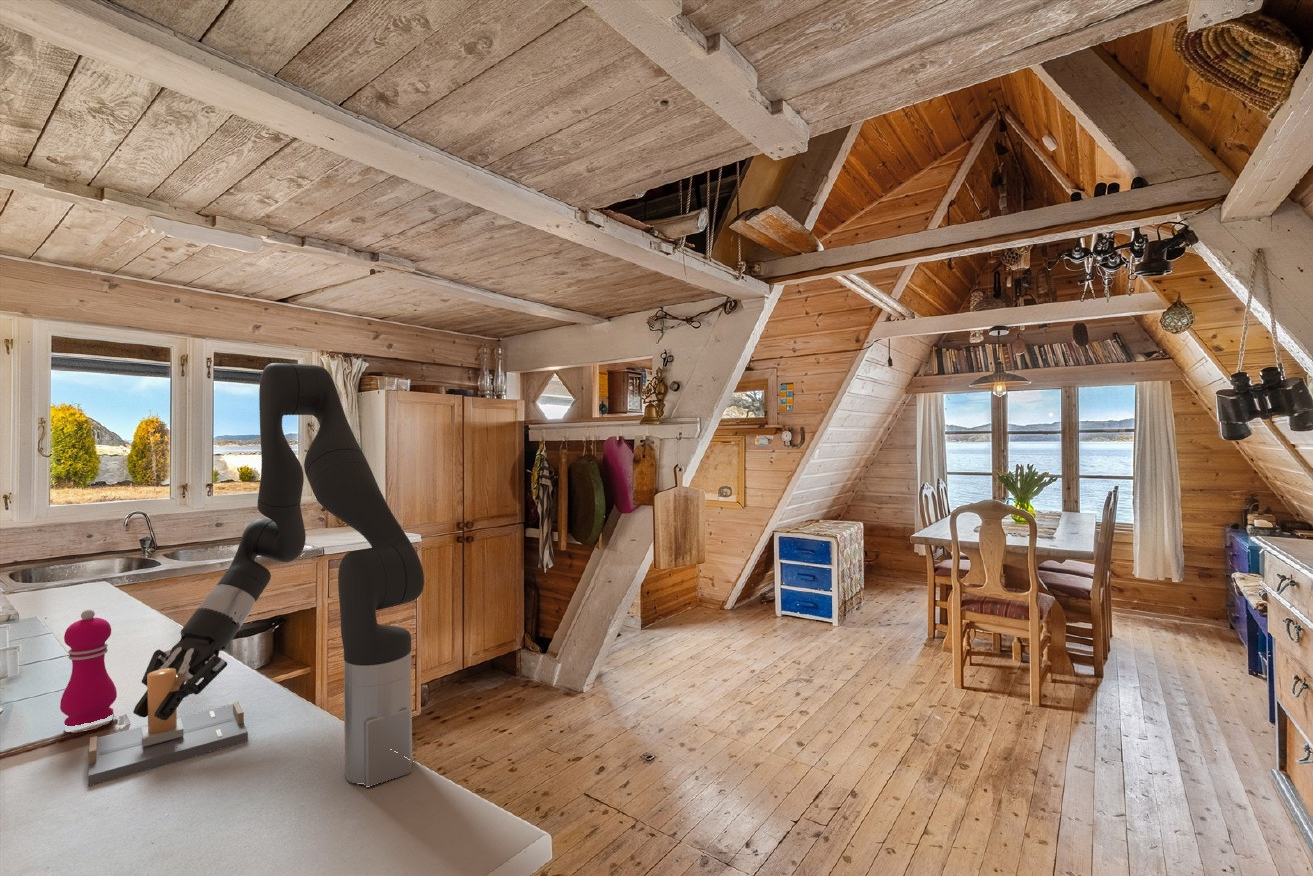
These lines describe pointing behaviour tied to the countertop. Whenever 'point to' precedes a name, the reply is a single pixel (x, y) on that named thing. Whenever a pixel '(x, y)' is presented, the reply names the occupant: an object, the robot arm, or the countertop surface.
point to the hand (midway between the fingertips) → (149, 716)
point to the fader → (157, 692)
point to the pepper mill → (88, 672)
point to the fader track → (165, 744)
